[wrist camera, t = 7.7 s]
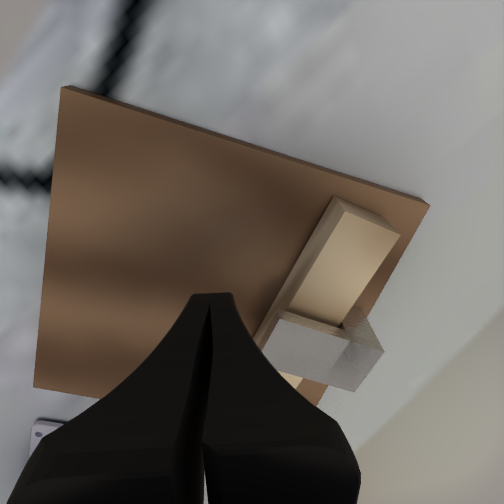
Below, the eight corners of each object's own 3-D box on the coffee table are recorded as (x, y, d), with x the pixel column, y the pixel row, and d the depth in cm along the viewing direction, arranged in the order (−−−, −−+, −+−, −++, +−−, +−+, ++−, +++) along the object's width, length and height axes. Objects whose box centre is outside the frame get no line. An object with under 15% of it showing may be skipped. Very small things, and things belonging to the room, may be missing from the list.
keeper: (337, 346, 23) (354, 392, 20) (250, 319, 22) (254, 364, 19) (361, 308, 22) (384, 351, 19) (272, 278, 21) (279, 318, 18)
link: (263, 405, 25) (267, 447, 22) (221, 394, 24) (220, 436, 22) (384, 218, 19) (410, 244, 16) (333, 195, 18) (351, 219, 16)
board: (298, 421, 28) (300, 433, 27) (40, 375, 24) (32, 387, 23) (421, 198, 20) (430, 205, 19) (69, 85, 17) (60, 87, 16)
